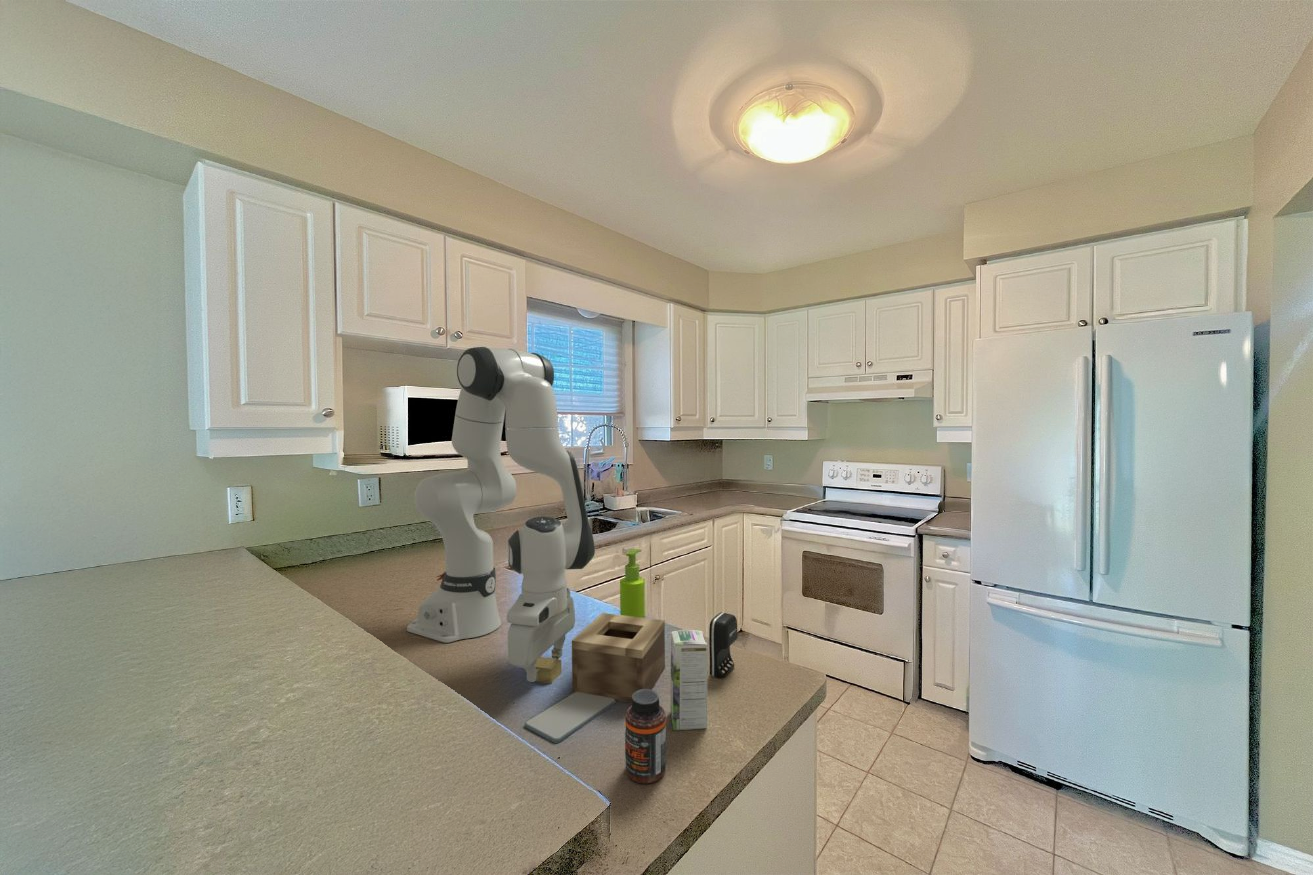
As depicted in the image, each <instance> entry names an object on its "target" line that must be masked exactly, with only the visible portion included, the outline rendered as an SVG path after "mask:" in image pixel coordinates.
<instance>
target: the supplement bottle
mask: <svg viewBox="0 0 1313 875" xmlns="http://www.w3.org/2000/svg"><path fill="white" fill-rule="evenodd" d="M630 704H631V705H630V706H629V707H628V709H626V712H625V716H624V717H625V718H624V728H625V730H624V733H625V734H624V735H625V736H624V742H625V743H624V746H625V747H624V748H625V749H624V752H625V753H624V755H625V756H624V759H625V760H624V763H625V772H626V773H625V774H626V775H627V777H628V778H630V779H631V780H632V781H633V782H635V783H639V784H652V783H655V782H657V781H658V780H660V779H661V778H663V776H664V775H665V772H666V768H667V767H666V766H667V764H666V762H667V761H666V758H667V755H666V753H667V752H666V750H667V745H666V744H667V740H666V738H667V737H666V735H667V731H666V728H667V727H666V724H667V723H666V722H667V721H666V720H667V719H666V718H667V717H666V715H667V714H666V711H665V709H664V708H663V707H662V705H661V704H660V695H659V693H658V692H657V691H656V690H654V689H652V690H651V689H642V690H638V691H636V692H634V694H633V695H632V703H630Z"/></svg>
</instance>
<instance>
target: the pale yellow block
mask: <svg viewBox="0 0 1313 875" xmlns="http://www.w3.org/2000/svg"><path fill="white" fill-rule="evenodd" d="M535 668H536V669H538V670H539V678H538V679H537V680H536V682H541V683H547V684H553V682H555V681H556V680H557V679H558V677H560V676H561V674H562V659H560V658H559V659H553V658H552V657H551V658H550V657H545V656H544V657H543V656H540V657H539V658H538V659H537V660H536V664H535Z"/></svg>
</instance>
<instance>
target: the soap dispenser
mask: <svg viewBox="0 0 1313 875" xmlns="http://www.w3.org/2000/svg"><path fill="white" fill-rule="evenodd" d="M640 552H642V549H640V548H639V549H637V548H631V549H630V550H628V551H627V552H626V555H625V556H626V557H628V563H627V564H625V566H624V577H622V578H621V579H620V580H619V603H620V604H619V608H620V609H619V612H620V613H619V615H623V616H632V617H640V618H646V599H645V598H646V594H645V592H646V588H645V586H646V585H645V584H646V582H645V579H644V578H643V577H641V576H640V564H638V563H637V562H636V560H637V557H636V556H637V555H638V553H640Z"/></svg>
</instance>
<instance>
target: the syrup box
mask: <svg viewBox="0 0 1313 875" xmlns="http://www.w3.org/2000/svg"><path fill="white" fill-rule="evenodd" d="M670 637H671V638H670V642H671V643H670V646H671V647H670V699H669V700H670V718H671V724H672V728H673V730H674V731H685V730H686V731H687V730H701V729H708V673H709V672H708V671H709V670H708V661H709V657H708V653H709V652H708V650H709V649H708V648H709V647H708V646H709V644H708V642H707V639H706V637H705V634H704V632H703V631H702V630H696V629H695V630H694V629H681V630H680V629H679V630H674V631H671V635H670Z"/></svg>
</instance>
